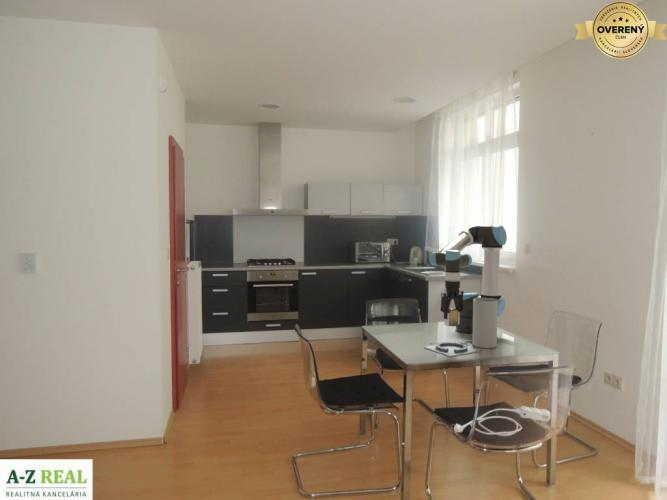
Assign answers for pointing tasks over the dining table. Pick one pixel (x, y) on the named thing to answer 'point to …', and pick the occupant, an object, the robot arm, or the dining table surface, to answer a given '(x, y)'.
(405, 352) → the dining table surface
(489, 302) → the cylinder vase
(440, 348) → the piston ring
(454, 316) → the piston
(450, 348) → the ring plate
